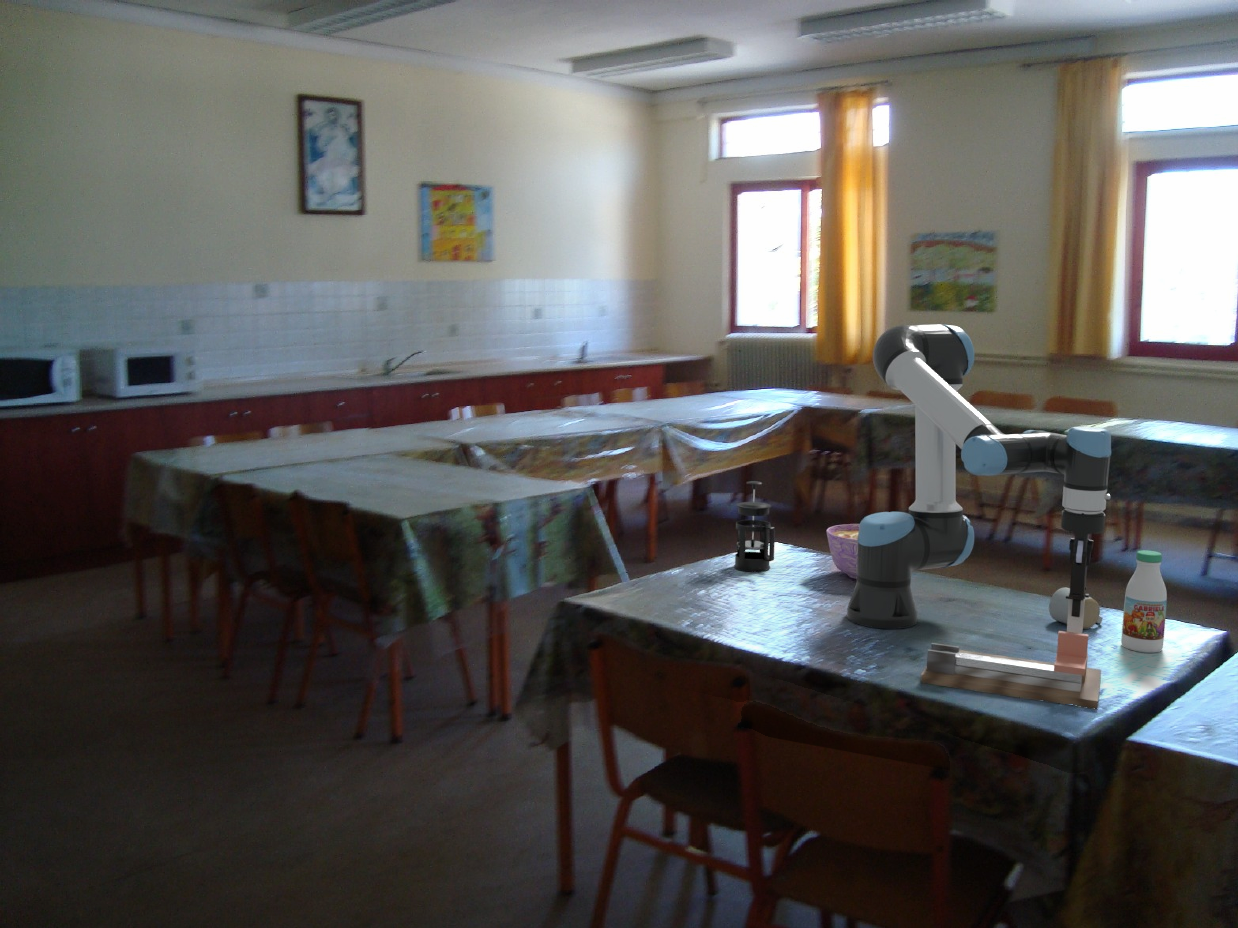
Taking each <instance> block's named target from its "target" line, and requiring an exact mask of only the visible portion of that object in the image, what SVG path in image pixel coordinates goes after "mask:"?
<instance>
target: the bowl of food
mask: <svg viewBox="0 0 1238 928" xmlns="http://www.w3.org/2000/svg"><path fill="white" fill-rule="evenodd" d="M859 525H860V523H850V524H849V523H848V524H845V523H844V524H838V525H833V526H829V527H828V528H827V529H826V536H827V541H828V546H829V551H830V556H831V559H832V562H833V564H834V566H835V567H836V568H837V569H838V570H839V571H840V572H842V573H844V574H846V575H848V577H850V578H851V579H854V580H857V557H858V540H857V537H858V533H859Z"/></svg>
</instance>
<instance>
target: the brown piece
mask: <svg viewBox="0 0 1238 928" xmlns="http://www.w3.org/2000/svg"><path fill="white" fill-rule="evenodd" d="M930 646H931V647H930V649H927V653H926V666H925V668H924V670H923V671H922V672H921V674H920V683H921V684H922V683H923V684H928V685H934V686H940V687H941V686H942V687H949V688H954V689H961V690H967V689H971V690H970V691H973V690H976V691H975V692H980V691H982V692H981V693H987V694H993V693H995V694H994V695H999V694H1000V696H1006V697H1014V698H1019V697H1020V699H1024V700H1025V699H1028V700H1033V701H1038V700H1043V701H1042V702H1045V701H1048V702H1047V703H1051V702H1054V703H1053V704H1058V703H1060V704H1059V705H1065V704H1073V705H1077V706H1076V707H1078V706H1081V707H1080V708H1084V707H1087V708H1086V709H1091V708H1095V709H1094V710H1098V709H1097V708H1098V706H1099V700H1100V699H1099V698H1100V689H1101V677H1102V669H1098V668H1092V667H1088V660H1087V661H1086V668H1085V675H1082V679H1081V683H1078V682H1071V681H1064V680H1057V679H1050V678H1043V677H1036V676H1030V675H1023V674H1016V673H1009V672H1002V671H995V670H988V669H982V668H975V667H968V666H961V665H955V659H956V653H951V652H944V650H946V651H953V652H960V653H967V654H974V655H981V656H989V657H996V658H1003V659H1010V660H1017V661H1024V662H1031V663H1038V664H1045V665H1052V666H1054V664H1055V662H1048V661H1042V660H1041V661H1040V660H1034V659H1027V658H1021V657H1020V658H1019V657H1013V656H1005V655H998V654H990V653H983V652H977V651H969V650H962V649H960V646H957V645H951V644H943V643H937V642H931V645H930ZM1088 655H1089V652H1088V651H1087V659H1088V658H1089V656H1088Z"/></svg>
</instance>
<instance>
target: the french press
mask: <svg viewBox="0 0 1238 928" xmlns="http://www.w3.org/2000/svg"><path fill="white" fill-rule="evenodd" d="M746 484H747V485H751V486H752V487H751V488H752V490H753V493H752V496H753V497H752V498H753V499H752V501H743V502H739V503H738V502H737V503H736V507H737V513H738V514H739V515H741V516H748V517H752V519H743V520H738V521H736V522H735V529H736V530H737V542H736V547H737V548H736V553H735V554H734V555H735V556H734V559H735V560H734V566H733V567H734V569H735V570H737V571H740V572H745V573H763V572H767V571H770V569H771V566H770V562H772V561H775V542H776V541H775V540H776V539H775V537H776V536H775V535H776V529H775V526H771V522H769V521H765V520H758V519H755V517H763V516H767V515H770V508H772V505H771V504H769V503H767V502H759V501H755V499H756V497H755V495H756V489H757V486H761V485H762V484H763V482H761V481H757V480H753V481H752V480H751V481H746ZM747 532H750V533H751V535H752V536H751V538H752V539H750V540H747V539H746V537H747V535H746V534H747ZM755 533H759V540H755V539H754V535H755ZM746 550H751V551H746ZM752 550H753V551H752ZM757 550H758V551H757Z"/></svg>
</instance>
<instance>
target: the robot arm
mask: <svg viewBox="0 0 1238 928" xmlns="http://www.w3.org/2000/svg"><path fill="white" fill-rule="evenodd" d="M872 362H873V366H874V369H875V371H876V373H877V375H878V376H879V378H880V379H882V381H883V382H884V383H885V384H886V385H887V386H888V387H889V388H890V389H892V390H896V391H901V393H902V394H903V395H904V396H906V397H907V399H909V400H910V401H911V402H912V403H913V404H914V405H915V407H914V409H915V411H914V412H915V414H914V415H915V423H914V424H915V430H914V432H915V437H914V438H915V500H914V502H913V503H912V504H911V505H910V506H909V507H908V512H903V511H890V512H889V511H883V512H882V511H881V512H875V513H871V514H869V515H866V516H864V518H862V519H861V521H860V523H859V524H860V525H859V533H858V537H857V540H858V557H857V579H856V583H855V587H854V588H853V592H852V594H851V596H850V599H849V602H848V604H847V608H846V609H847V610H846V617H847V618H846V619H848V621H851V622H852V623H855V624H857V625H860V626H864V627H869V628H875V629H886V630H888V629H889V630H890V629H893V630H897V629H905V628H910V627H912V626H914V625H916V624H917V623H918V610H917V608H918V607H917V605H916V602H915V598H914V595H913V591H912V588H911V585H912V582H911V581H912V572H913V571H920V570H928V569H929V570H930V569H938V568H939V569H946V568H949V567H951V566H952V567H953V566H957V565H960V564H962V563H964V562H965V561H966V559H968V557H969V556H970V555H971V553H972V551H973V548H974V545H975V531H974V527H973V525H971V520H970V519H969V518H968V517H967V516H966V515H964V514H963V513H964V511H963V507H962V506H961V505H960V503H958V502H957V500H956V497H957V496H956V495H957V493H956V492H957V491H956V485H957V483H956V482H957V481H956V478H957V477H956V473H957V472H956V471H957V470H956V467H957V466H956V462H957V461H956V450H957V448H956V447H958V448H959V449H960V450H961V453H960V456H961V462H963V465H964V466H963V467H964V468H965V470H966V471H967V472H968V473H969V474H972V475H975V476H986V477H993V476H1000V475H1011V474H1012V475H1013V474H1023V473H1027V474H1028V473H1036V472H1037V473H1038V472H1049V473H1053V474H1054V473H1055V474H1058V475H1059V474H1060V475H1063V476H1064V479H1063V480H1064V482H1063V489H1062V490H1063V491H1062V502H1061V504H1062V505H1061V506H1062V507H1064V509H1063V510H1062V511H1061V522H1060V528H1061V529H1062V530H1063V531H1066V532H1069V533H1070V532H1071V533H1074V537H1070V540H1069V547H1068V549H1069V551H1070V552H1069V563H1070V565H1071V567H1070V580H1069V581H1070V585H1069V588H1070V593H1069V595H1066V599H1069V607H1068V620H1067V624H1066V632H1073V633H1081V634H1083V630H1084V629H1083V618H1084V605H1085V597H1086V598H1089V597H1090V594H1089V593H1086V591H1087V586H1086V585H1087V584H1086V583H1087V574H1088V572H1087V571H1088V567H1089V565H1090V563H1091V562H1090V561H1091V554H1092V551H1093V547H1094V546H1093V545H1094V540H1092V539H1090V535H1091V534H1092V535H1099V534H1102V533H1103V532H1105V525H1106V514H1105V512H1104V511H1105V510H1106V508H1107V500H1111V495H1110V493H1107V492H1108V487H1109V486H1108V484H1109V483H1108V482H1109V481H1108V480H1109V473H1110V472H1109V471H1110V464H1111V457H1112V435H1111V432H1110V431H1109V430H1108V429H1106V428H1103V427H1092V426H1072V427H1070V428H1068V431H1067V434H1062V433H1061V434H1060V433H1055V432H1049V431H1046V430H1042V429H1041V430H1037V429H1036V430H1034V429H1029V430H1028V429H1027V430H1025V431H1023V432H1022V433H1012V434H1011V433H1010V434H1005V433H1003V432H1002V431H1001V430H1000V429H999V428H997V427H996V426H995V425H994V424H993V423H992V422H991V421H990V420H988V419H987V418H986V417H985V416H984V415H983V414H982V413H980V412H979V410H978V409H976V407H974V406H973V405H972V404H971V403H970V402H969V401H968V400H967V399H965V398H964V397H963V396H962V395H961V394H960V393H959V392H958V391H959V390H960V389H961V388H962V387H963V383H964V380H963V379H964V378H963V377H965V376H966V375H968V374H969V373H970V371H971V368H972V367H973V366H974V364H975V363H974V362H975V349H974V344H973V342H972V340H971V338H970V336H969V334H968V333H966V331H965V330H964V329H962V328H961V327H959V326H957V325H950V324H945V323H944V324H940V323H939V324H899V325H896V326H892V327H891V328H888V329H887V330H886V331H884V332H883V333H882V334H881V335H880V336H879V337H878V339H877V340H876V341H875V344H874V348H873V352H872Z"/></svg>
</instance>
